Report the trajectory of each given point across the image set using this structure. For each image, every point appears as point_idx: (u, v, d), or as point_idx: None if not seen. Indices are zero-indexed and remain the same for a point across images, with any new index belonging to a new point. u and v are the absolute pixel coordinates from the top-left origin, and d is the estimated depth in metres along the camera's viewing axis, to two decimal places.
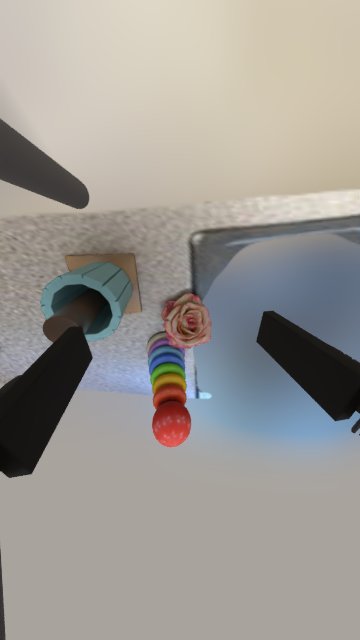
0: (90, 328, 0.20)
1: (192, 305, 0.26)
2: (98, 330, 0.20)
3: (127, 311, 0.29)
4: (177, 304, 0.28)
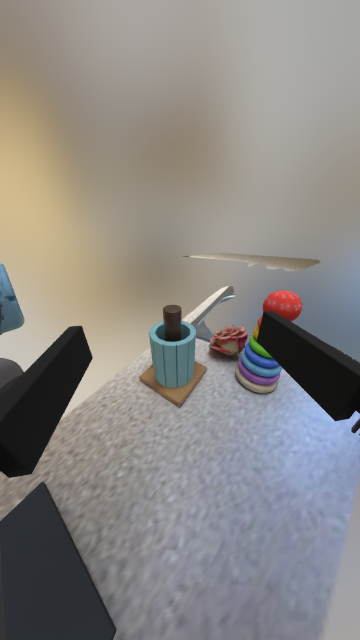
0: None
1: (216, 332, 0.39)
2: None
3: (199, 373, 0.32)
4: (213, 342, 0.38)
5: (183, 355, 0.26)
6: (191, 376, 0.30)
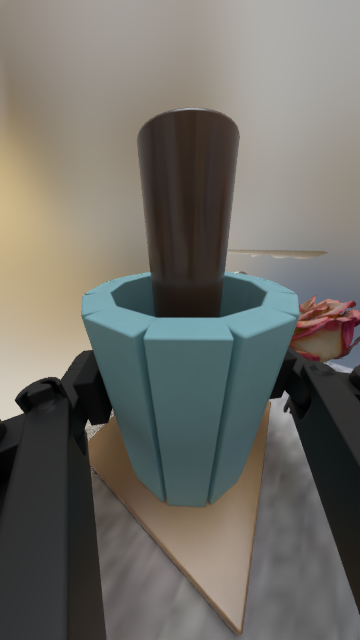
0: None
1: None
2: None
3: (262, 426, 0.11)
4: None
5: (258, 393, 0.05)
6: None
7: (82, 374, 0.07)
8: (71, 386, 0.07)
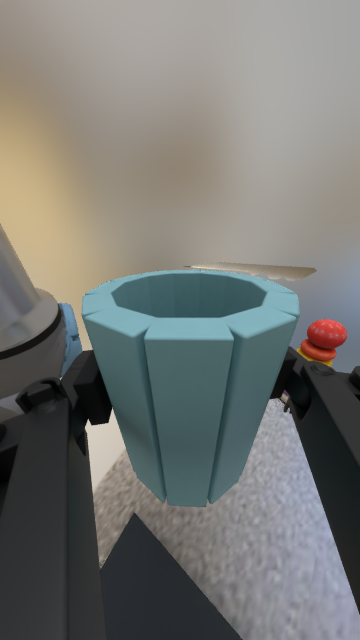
0: None
1: None
2: None
3: None
4: None
5: (258, 393, 0.05)
6: None
7: (82, 374, 0.07)
8: (71, 386, 0.07)
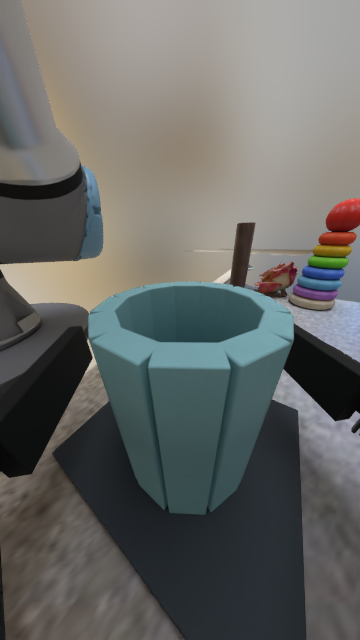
0: None
1: None
2: None
3: None
4: None
5: (255, 410, 0.05)
6: None
7: None
8: None
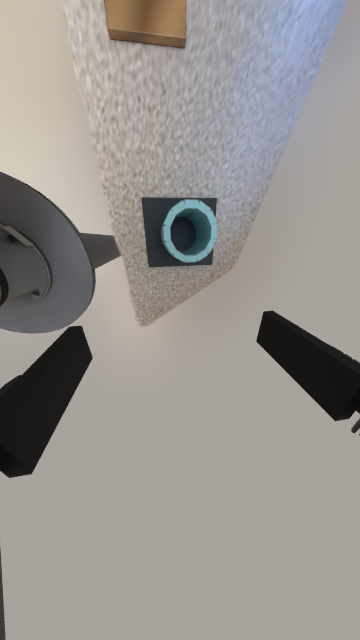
0: (207, 236, 0.25)
1: None
2: (209, 228, 0.24)
3: None
4: None
5: None
6: None
7: None
8: None
